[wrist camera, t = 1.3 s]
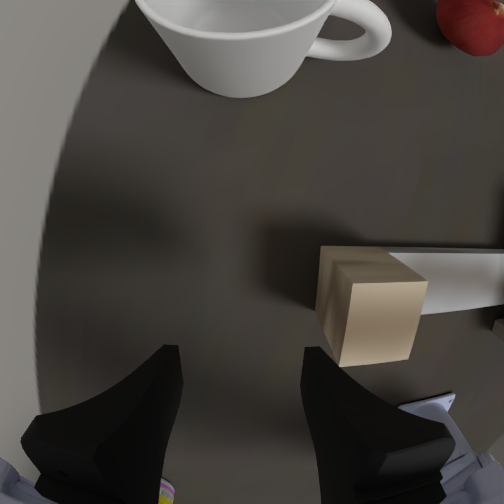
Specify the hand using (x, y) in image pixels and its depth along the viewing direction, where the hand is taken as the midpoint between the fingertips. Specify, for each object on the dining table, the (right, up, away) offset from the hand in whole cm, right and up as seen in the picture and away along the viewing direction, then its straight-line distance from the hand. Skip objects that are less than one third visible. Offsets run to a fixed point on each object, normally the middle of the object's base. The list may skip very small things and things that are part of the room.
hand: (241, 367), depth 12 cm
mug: (+2, +18, +5) cm, 19 cm away
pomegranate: (+17, +23, +4) cm, 29 cm away
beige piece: (+15, +3, +10) cm, 18 cm away
